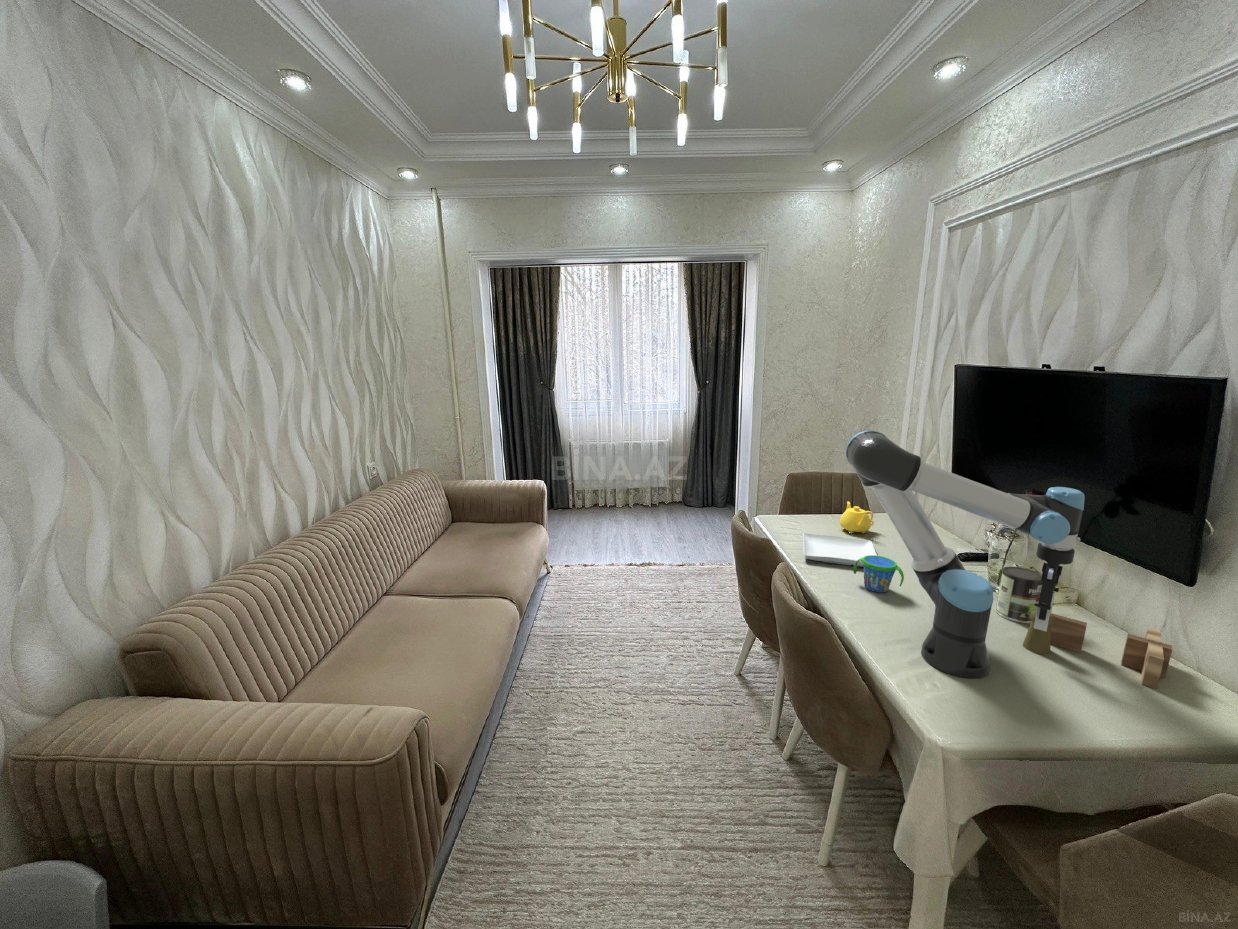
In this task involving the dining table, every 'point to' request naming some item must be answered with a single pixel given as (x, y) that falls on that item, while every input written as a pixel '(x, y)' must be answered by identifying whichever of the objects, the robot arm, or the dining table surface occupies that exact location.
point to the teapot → (856, 519)
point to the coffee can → (1018, 593)
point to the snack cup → (878, 572)
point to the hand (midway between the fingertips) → (1042, 620)
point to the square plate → (836, 549)
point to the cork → (1038, 636)
